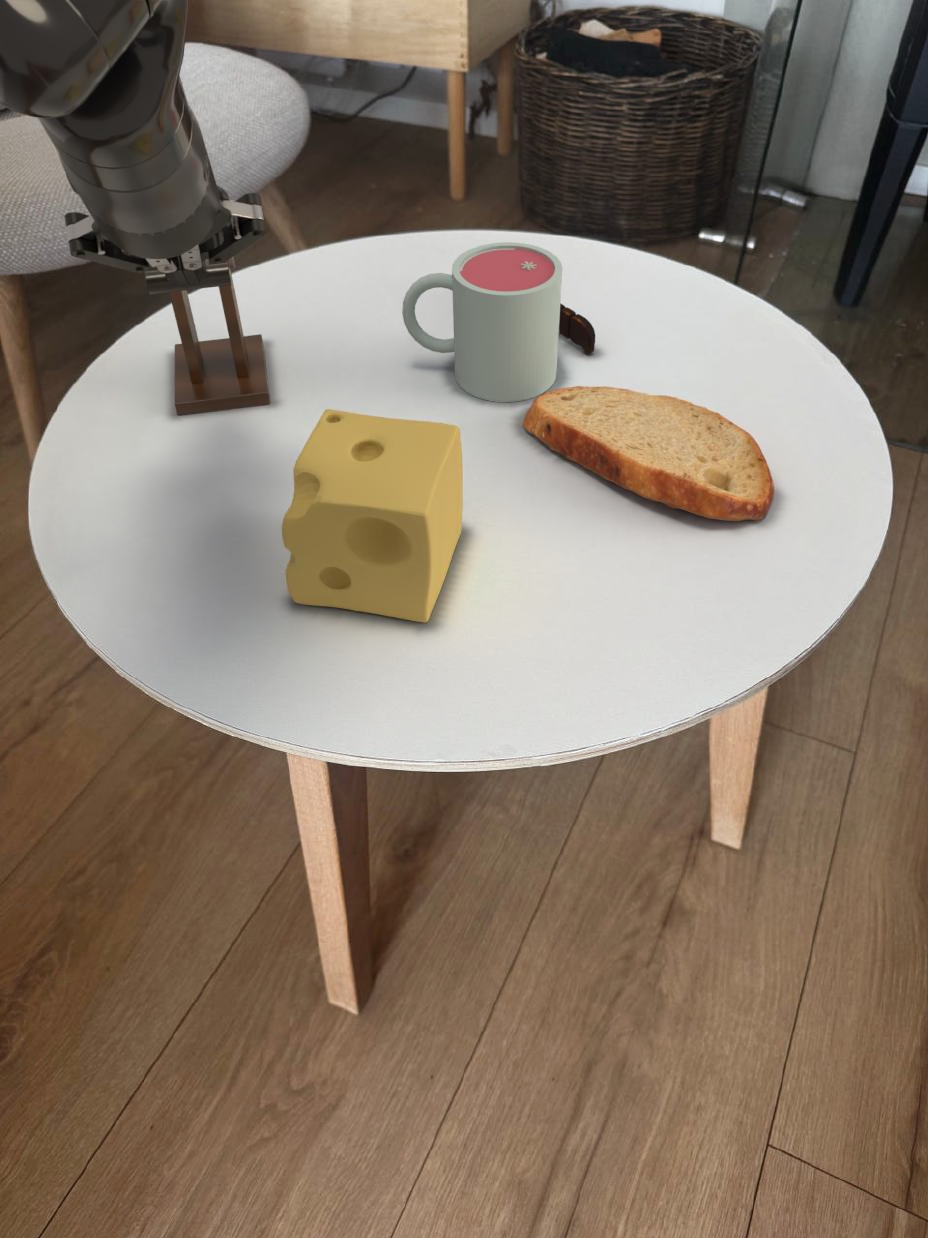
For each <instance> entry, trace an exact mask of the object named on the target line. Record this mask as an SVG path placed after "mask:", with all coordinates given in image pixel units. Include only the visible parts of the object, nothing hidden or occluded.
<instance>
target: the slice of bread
mask: <svg viewBox="0 0 928 1238" xmlns="http://www.w3.org/2000/svg"><path fill="white" fill-rule="evenodd" d="M522 426H523V428H524V429H525V430H526V432H528V434H531V435H533V436H535V437H536V438H537V439H538V440H539V441H540V442H541V443H543V444H545V445H546V446H547V447H548V448H549V450H551V451H553V452H556V453H559V454H560V455H562V456H563V457H564V458H565V459H566V460H569V461H571V462H575V463H576V464H578V465H580V466H581V467H582V468H583V469H586V470H588V471H591V472H593V473H594V474H596V475H598V476H599V477H601V478H603V479H605V480H606V481H608V482H611V483H613V484H616V485H617V486H619V487H620V488H622V489H623V490H624V489H625V490H627V491H630V492H633V493H634V494H636V495H638V496H639V497H641V498H643V499H646V500H649V501H653V502H659V503H662V504H664V505H666V506H667V507H669V508H670V509H675V510H683V511H686V512H688V513H691V514H694V515H697V516H701V517H703V518H707V519H713V520H720V521H727V522H740V521H746V520H750V521H759V520H761V519H763V518H765V517H766V516H767V514H768V511H769V508H770V507H771V505H772V502H773V499H774V496H775V485H774V480H773V477H772V473H771V470H770V468H769V464H768V461H767V460H766V458H765V456H764V453H763V452H762V450H761V447H760V446H759V444H758V443H757V441H756V440H755V438H754V437H753V436H752V434H751V433H749V432H748V431H746V430H745V429H743V428H742V427H740V426H738V425H737V424H735V423H733V421H731V420H730V419H728V418H726V417H724V416H723V415H722V414H721V413H719V412H717V411H716V412H715V411H712V410H710V409H708V408H707V407H705V406H701V405H696V404H694V403H692V402H690V401H688V400H685V399H681V398H678V397H677V396H670V395H663V394H661V395H654V394H649V393H647V392H640V391H635V390H631V389H628V388H620V387H619V388H618V387H613V386H580V385H578V386H577V385H576V386H571V387H561V388H557V389H555V390H550V391H545V392H544V393H542V394H540V395H539V396H536V398H535V399H534V400H533V401H532V403H531V405H530V406H529V408H528V409H527V411H526V413H525V416H524V417H523V421H522Z"/></svg>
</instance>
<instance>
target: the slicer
mask: <svg viewBox="0 0 928 1238" xmlns="http://www.w3.org/2000/svg"><path fill="white" fill-rule="evenodd" d="M234 257H235V256H233V257H232V258H230V259H229V260H227V261H226V262H224V263H228V264H229V267H230V272H231V278H232V285H228V286H219V287H218V290H219V294H220V299H221V304H222V309H223V314H224V319H225V324H226V327H227V334H228V337H226V338H218V339H217V338H216V339H210V340H200V341H199V337H198V333H197V328H196V324H195V319H194V316H193V311H192V307H191V303H190V298H189V294H188V290H182V291H173V292H168V294H169V298H170V302H171V307H172V310H173V314H174V318H175V322H176V326H177V331H178V333H179V338H180V343H176V344H175V343H174V407H175V411H176V415H177V416H183V415H192V414H200V413H207V412H216V411H224V410H230V409H231V410H232V409H238V408H239V409H240V408H248V407H255V406H263V405H270V404H271V396H270V389H269V380H268V372H267V364H266V363H267V362H266V356H265V354H266V353H265V347H264V340H263V336H262V334H260V333H259V334H252V335H244V331H243V326H242V320H241V316H240V310H239V304H238V299H237V296H236V289H235V285H234V280H233V274H232V270H231V269H235V268H236V264H235V259H234ZM213 264H216V263H213ZM220 264H221V263H220Z"/></svg>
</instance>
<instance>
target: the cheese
mask: <svg viewBox="0 0 928 1238" xmlns="http://www.w3.org/2000/svg"><path fill="white" fill-rule="evenodd" d="M463 468H464V467H463V447H462V438H461V429H460V426H459V425H456V424H449V423H443V422H436V421H428V420H418V419H417V420H415V419H404V418H403V419H402V418H391V417H383V416H376V415H369V414H361V413H355V412H349V411H344V410H337V409H332V408H331V409H330V408H326V409H325V410H324V411H323V413H322V414H321V416H320V417H319V420H318V421H317V423H316V425H315V426H314V428H313V429H312V431H311V433H310V435H309V437H308V439H307V441H306V442H305V444H304V446H303V448H302V450H301V452H300V453H299V455H298V458H297V459H296V460H295V463H294V466H293V469H292V473H293V476H292V477H293V485H294V486H293V497H292V500H291V503H290V506H289V508H288V509H287V511H286V512H285V513H284V517H283V520H282V524H281V535H282V541H283V546H284V548H285V549H286V550H288V551H289V552H290V557H289V561H288V563H287V565H286V569H285V580H286V581H285V582H286V588H287V590H288V593H289V595H290V597H291V598H292V600H293V602H294V603H296V604H299V605H306V606H316V607H331V608H338V609H344V610H350V611H355V612H362V613H369V614H374V615H380V616H385V617H391V618H396V619H402V620H406V621H412V622H416V623H417V622H419V623H427V622H429V619H430V617H431V615H432V613H433V610H434V607H435V605H436V602H437V600H438V597H439V595H440V593H441V590H442V587H443V585H444V581H445V579H446V576H447V573H448V570H449V568H450V565H451V562H452V558H453V555H454V553H455V550H456V547H457V545H458V542H459V539H460V537H461V534H462V532H463V531H462V529H463V511H464V510H463V507H464V485H463V484H464V477H463V476H464V472H463Z"/></svg>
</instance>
